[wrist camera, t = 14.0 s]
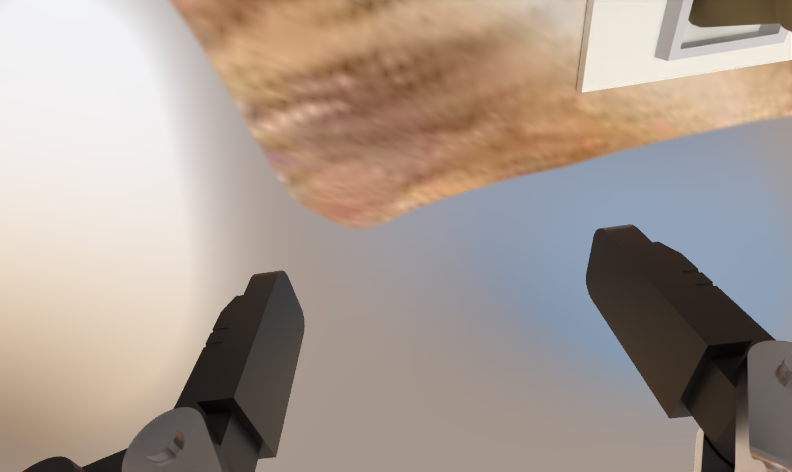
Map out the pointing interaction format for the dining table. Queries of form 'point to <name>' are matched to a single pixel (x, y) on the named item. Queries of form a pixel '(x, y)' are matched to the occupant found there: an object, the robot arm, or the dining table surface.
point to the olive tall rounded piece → (741, 13)
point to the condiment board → (667, 44)
